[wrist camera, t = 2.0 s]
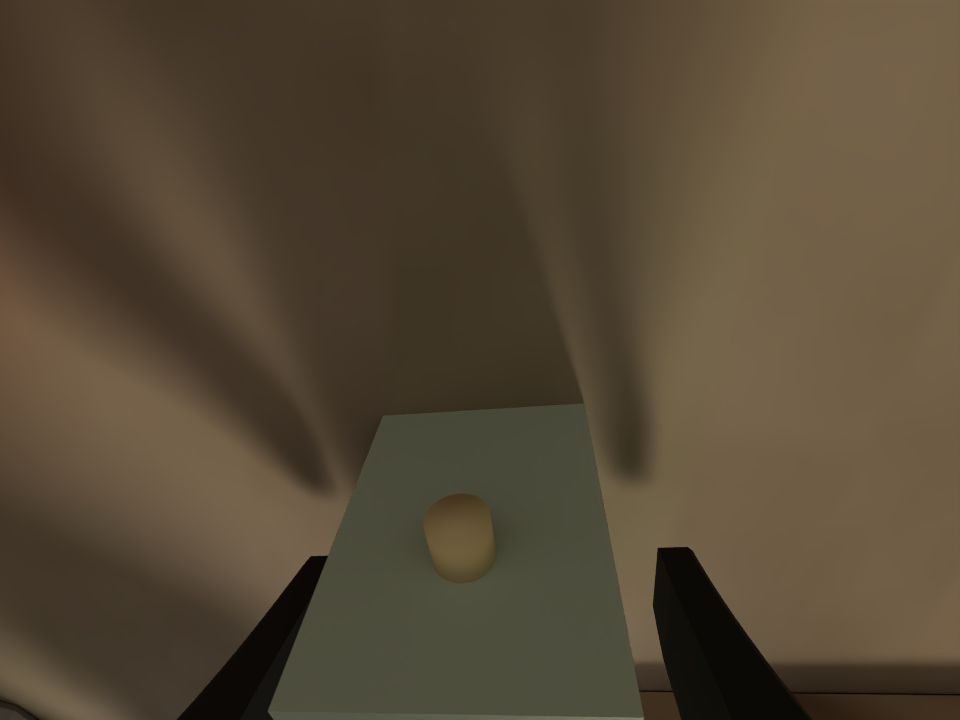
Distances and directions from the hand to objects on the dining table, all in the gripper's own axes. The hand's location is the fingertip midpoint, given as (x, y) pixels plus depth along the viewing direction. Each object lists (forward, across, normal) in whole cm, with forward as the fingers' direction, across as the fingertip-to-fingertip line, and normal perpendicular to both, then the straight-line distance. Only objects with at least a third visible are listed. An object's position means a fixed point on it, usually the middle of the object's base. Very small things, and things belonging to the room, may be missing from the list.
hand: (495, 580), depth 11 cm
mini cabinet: (+2, 0, 0) cm, 2 cm away
